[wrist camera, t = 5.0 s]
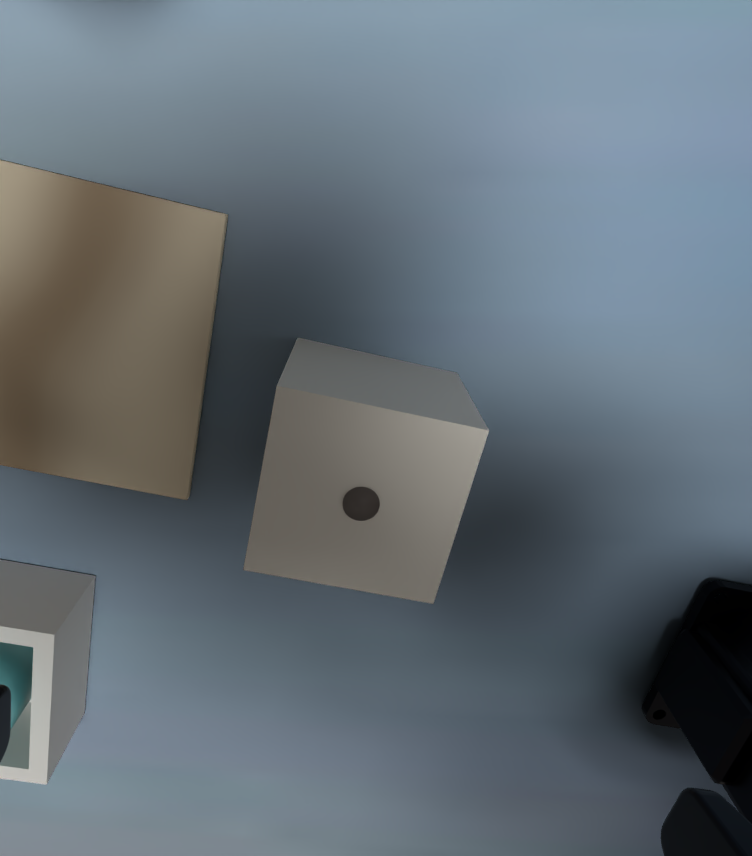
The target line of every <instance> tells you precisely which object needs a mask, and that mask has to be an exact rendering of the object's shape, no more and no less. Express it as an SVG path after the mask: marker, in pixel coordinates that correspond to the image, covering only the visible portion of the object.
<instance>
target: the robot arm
mask: <svg viewBox="0 0 752 856" xmlns="http://www.w3.org/2000/svg"><path fill="white" fill-rule="evenodd" d="M719 593H720V594H719ZM716 594H719V595H718V596H717V597H715V598H714V596H715V595H716ZM642 711H643V713H644V715H645V717H646V719H647V720H648V721H649V722H650V723H652V724H656V725H662V726H668V727H674V728H680V729H681V730H682V731H683V733H684V734H685V736H686V738H687V739H688V741H689V743H690V744H691V746H692V748H693V749H694V751H695V753H696V754H697V756H698V758H699V759H700V761H701V763H702V764H703V766H704V767H705V769H706V771H707V772H708V774H709V776H710V777H711V779H712V780H713V781H714V782H715V783H718V784H722V785H723V787H724V788H725V790H726V791H727V793H728V795H729V796H730V798H731V800H732V801H733V803H734V804H735V806H736V808H737V809H738V811H739V812H740V813H739V812H738V811H737V810H736V809H735V808H734V807H733V806H732V805H731V804H730V803H729V802H728V801H726V800H725V799H724V798H723V797H722V796H721V795H719V794H718V793H716V792H714V791H710V790H704V789H698V788H686V789H684V790H683V791H682V792H681V793H680V795H679V797H678V799H677V800H676V802H675V804H674V806H673V807H672V809H671V811H670V812H669V814H668V816H667V818H666V819H665V821H664V823H663V825H662V829H661V844H662V849H663V853H664V856H752V586H746V585H741V584H736V583H731V582H726V581H720V580H714V581H711V582H708V583H707V584H705V585H704V586H703V588H702V589H701V591H700V593H699V595H698V597H697V599H696V601H695V603H694V605H693V607H692V609H691V610H690V612H689V614H688V616H687V618H686V620H685V622H684V624H683V626H682V628H681V630H680V632H679V634H678V636H677V638H676V640H675V642H674V644H673V646H672V648H671V650H670V652H669V654H668V656H667V658H666V660H665V662H664V664H663V665H662V667H661V669H660V671H659V673H658V675H657V677H656V679H655V681H654V683H653V685H652V687H651V689H650V691H649V693H648V695H647V697H646V699H645V701H644V703H643V705H642ZM10 732H11V691H10V689H9V687H8V686H5V685H1V684H0V762H1V760H2V758H3V756H4V754H5V752H6V749H7V746H8V743H9V739H10Z"/></svg>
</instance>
